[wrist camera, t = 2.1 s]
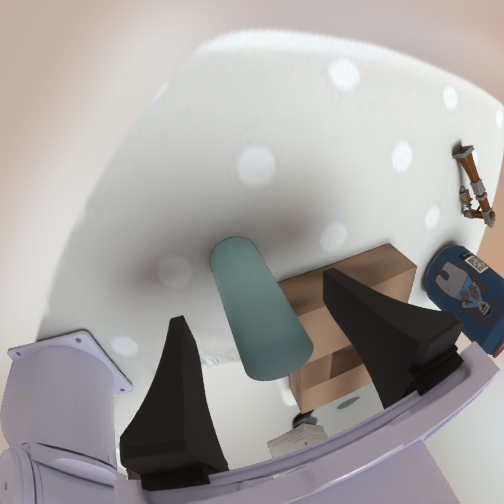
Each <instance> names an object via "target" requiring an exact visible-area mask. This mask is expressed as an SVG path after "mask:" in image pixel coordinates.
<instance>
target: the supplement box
mask: <svg viewBox="0 0 504 504" xmlns="http://www.w3.org/2000/svg"><path fill="white" fill-rule="evenodd" d="M327 438H328V436H327V434H326V433H325V431H324V428H323V426H319V425H312V424H306V423H301V424H300V425H299V426H298V427H296V428H294V429H292V430H291V431H289V432H287V433H285V434H283V435H282V436H280V437H278V438H276V439H274V440H271V441H269V442H268V443H267V444H268V447H269V449H270V452H271V455H272V457H273V458H277V457H280V456H283V455H285V454H288V453H291V452H294V451H297V450H299V449H302V448H305V447H307V446H310V445H312V444H315V443H317V442H320V441H322V440H324V439H327ZM317 460H318V459H317ZM315 461H316V460H315ZM313 462H314V461H312V462H310V463H307V464H305V465H302V466H299V467H296V468H294V469H291V470H288V471H285V472H282V473H279V475H280V477H281V476H283V475H286V474H288V473H291V472H293V471H296V470H298V469H301V468H303V467H305V466H308V465H310V464H311V463H313Z"/></svg>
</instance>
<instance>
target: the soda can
mask: <svg viewBox="0 0 504 504" xmlns="http://www.w3.org/2000/svg"><path fill="white" fill-rule="evenodd" d="M424 284H425V288H426V292H427V295H428V297H429V299H430V300H431V301H432V302H433V303H434V304H435V305H437V306H438V307H439V308H440V309H441V310H442V311H445V312H453V313H454V314H455V315H456V316H457V317H458V318H459V319H460V321H461V322H462V323H463V329H462V332H463V333H464V334H465V335H466V336H467V337H468V339H470V341H471V342H472V343H473V342H474V341H476V342H477V343H478V345H479V346H480V347H481V348H482V349H483V350H484V351H485V352H486V354H490V355H493V357H494V358H496V357H497V356H498V355H499V354H500V353H501V352H502V351H503V349H504V279H503V278H502V277H501V276H500V275H498V274H497V273H496V272H495V271H494V270H492V269H491V268H490V267H489V266H488V265H487V264H485V263H484V262H483V261H481V260H480V259H479V258H478V257H476V256H475V255H474V254H473V253H471V252H470V251H469V250H467V249H466V248H465V247H463V246H447V247H445V248H443V249H442V250H441V251H440V252H439V253H438V254H437V255H436V256H435V258H434V259H433V260H432V262H431V264H430V265H429V267H428V269H427V272H426V275H425V279H424Z"/></svg>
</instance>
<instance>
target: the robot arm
mask: <svg viewBox="0 0 504 504" xmlns="http://www.w3.org/2000/svg"><path fill="white" fill-rule="evenodd" d="M323 301H324V303H325V305H326V307H327V309H328V311H329V312H330V314H331V316H332V317H333V319H334V320H335V321H336V323H337V324H338V326H339V327H340V328H341V330H342V331H343V332H344V334H345V335H346V336H347V338H348V339H349V341H350V342H351V343H352V345H353V346H354V348H355V349H356V351H357V353H358V354H359V356H360V358H361V360H362V362H363V363H364V365H365V367H366V369H367V371H368V373H369V375H370V377H371V379H372V381H373V383H374V386H375V388H376V390H377V392H378V395H379V397H380V400H381V402H382V405H383V407H384V410H383V411H381V412H380V413H378V414H376V415H374V416H372V417H370V418H369V419H367V420H365V421H363V422H361V423H359V424H357V425H355V426H353V427H351V428H349V429H347V430H344V431H343V432H340V433H338V434H336V435H334V436H331V437H329V438H327V439H324V440H322V441H320V442H317V443H315V444H312V445H310V446H307V447H305V448H302V449H299V450H297V451H294V452H291V453H288V454H285V455H283V456H280V457H277V458H273V459H270V460H267V461H264V462H260V463H257V464H254V465H250V466H246V467H242V468H238V469H234V470H229V468H228V465H227V463H226V460H225V458H224V455H223V453H222V450H221V447H220V444H219V441H218V438H217V435H216V432H215V429H214V426H213V422H212V419H211V416H210V412H209V409H208V405H207V401H206V396H205V389H204V383H203V376H202V369H201V362H200V357H199V353H198V349H197V345H196V341H195V339H194V337H193V335H192V333H191V331H190V329H189V327H188V325H187V323H186V321H185V318H184V316H183V315H182V316H178V317H175V318H171V320H170V323H169V328H168V333H167V337H166V341H165V345H164V349H163V353H162V356H161V359H160V362H159V365H158V368H157V371H156V374H155V377H154V379H153V382H152V384H151V386H150V389H149V391H148V393H147V395H146V397H145V399H144V401H143V403H142V405H141V406H140V408H139V410H138V411H137V413H136V415H135V416H134V418H133V420H132V421H131V423H130V424H129V425H128V427H127V428H126V430H125V431H124V432H123V434H122V435H121V436H120V461H121V464H122V466H123V467H125V468H127V469H129V470H131V471H133V472H135V473H137V474H140V478H141V480H127V478H126V475H125V474H122V473H119V472H117V462H116V449H115V431H114V394H120V393H125V392H130V391H132V390H133V386H132V384H131V383H130V382H129V381H128V380H127V379H126V378H125V377H124V376H123V374H122V373H121V372H120V371H119V370H118V369H117V368H116V366H115V365H114V364H113V363H112V362H111V360H110V359H109V358H108V357H107V356H106V354H105V353H104V352H103V351H102V349H101V348H100V347H99V346H98V344H97V343H96V342H95V341H94V339H93V338H92V337H91V335H90V334H89V333H88V332H86V331H79V332H76V333H72V334H68V335H64V336H60V337H56V338H52V339H48V340H44V341H39V342H35V343H31V344H27V345H23V346H18V347H14V348H10V349H9V350H8V355H9V356H10V358H11V359H12V360H13V362H12V365H11V369H10V372H9V376H8V380H7V384H6V388H5V392H4V397H3V401H2V406H1V412H0V422H1V428H2V431H3V435H4V437H5V439H6V441H7V443H8V444H9V446H10V448H8V449H6V450H4V451H3V452H2V454H1V456H0V504H460V502H459V500H458V499H457V497H456V495H455V494H454V492H453V490H452V488H451V487H450V485H449V483H448V482H447V480H446V478H445V477H444V475H443V474H442V472H441V470H440V469H439V467H438V465H437V464H436V462H435V460H434V459H433V457H432V455H431V454H430V452H429V451H428V449H427V448H426V446H425V444H424V443H423V441H425V440H426V439H427V438H429V437H430V436H431V435H433V434H434V433H435V432H437V431H438V430H439V429H440V428H442V427H443V426H444V425H445V424H447V423H448V422H449V421H450V420H452V419H453V418H454V417H455V416H456V415H457V414H459V413H460V412H461V411H462V410H463V409H464V408H465V407H466V406H467V405H469V404H470V403H471V402H472V401H473V400H474V399H475V398H476V397H477V396H478V395H479V394H480V393H481V392H482V391H483V390H484V389H485V388H486V386H488V384H489V383H490V382H491V381H492V380H493V379H494V377H495V376H496V375H497V374H498V373H499V371H500V369H499V368H498V367H497V365H496V364H495V363H494V362H493V361H492V360H491V358H490V357H489V356H488V355H487V354H486V352H485V351H484V350H483V349H482V348H481V347H480V346H479V345H478V343H477V342H476V341H474V342H473V343H471V344H470V345H469V346H468V347H467V348H466V349H464V350H463V351H462V352H461V354H460V355H459V354H458V353H457V352H456V351H457V350H458V348H457V346H456V345H455V342H456V341H457V339H458V337H459V335H460V333H461V331H462V329H463V323H462V322H461V321H460V319H459V318H458V317H457V316H456V315H455V314H454V313H453V312H445V311H437V310H432V309H427V308H422V307H418V306H415V305H411V304H408V303H405V302H402V301H399V300H396V299H394V298H391V297H389V296H386V295H384V294H382V293H380V292H378V291H376V290H373V289H372V288H370V287H368V286H366V285H364V284H362V283H360V282H358V281H357V280H355V279H353V278H351V277H350V276H348V275H346V274H344V273H343V272H341V271H339V270H337V269H336V268H334V267H333V268H330V269H327V270H324V271H323ZM78 338H80V339H78ZM317 459H318V460H317ZM315 460H316V461H315ZM312 461H314V462H313V463H311V464H310V465H308V466H305V467H303V468H301V469H298V470H296V471H293V472H291V473H288V474H286V475H283V476H281V477H278V478H276V479H274V478H273V477H269V476H272V475H276V474H279V473H282V472H285V471H288V470H291V469H294V468H296V467H299V466H302V465H305V464H307V463H310V462H312Z"/></svg>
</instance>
